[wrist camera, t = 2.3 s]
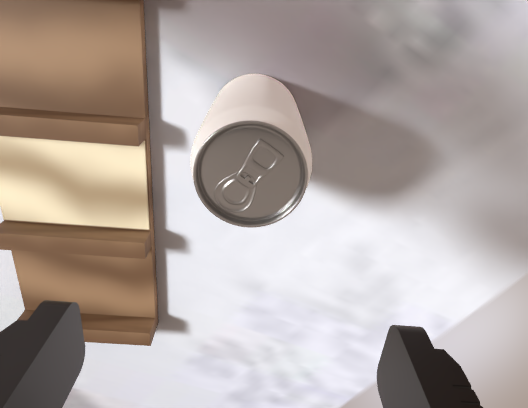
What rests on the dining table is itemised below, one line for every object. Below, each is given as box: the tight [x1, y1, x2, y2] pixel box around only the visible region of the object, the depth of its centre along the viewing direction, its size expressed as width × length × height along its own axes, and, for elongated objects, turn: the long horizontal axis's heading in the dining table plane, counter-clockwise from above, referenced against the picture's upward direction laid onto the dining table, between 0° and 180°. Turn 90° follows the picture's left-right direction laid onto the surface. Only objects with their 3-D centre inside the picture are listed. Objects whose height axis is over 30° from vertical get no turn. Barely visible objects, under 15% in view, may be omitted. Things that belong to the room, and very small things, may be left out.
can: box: [190, 74, 312, 227], centre depth 25 cm, size 6×6×12 cm
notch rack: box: [0, 0, 158, 346], centre depth 31 cm, size 30×12×3 cm, turn 175°
